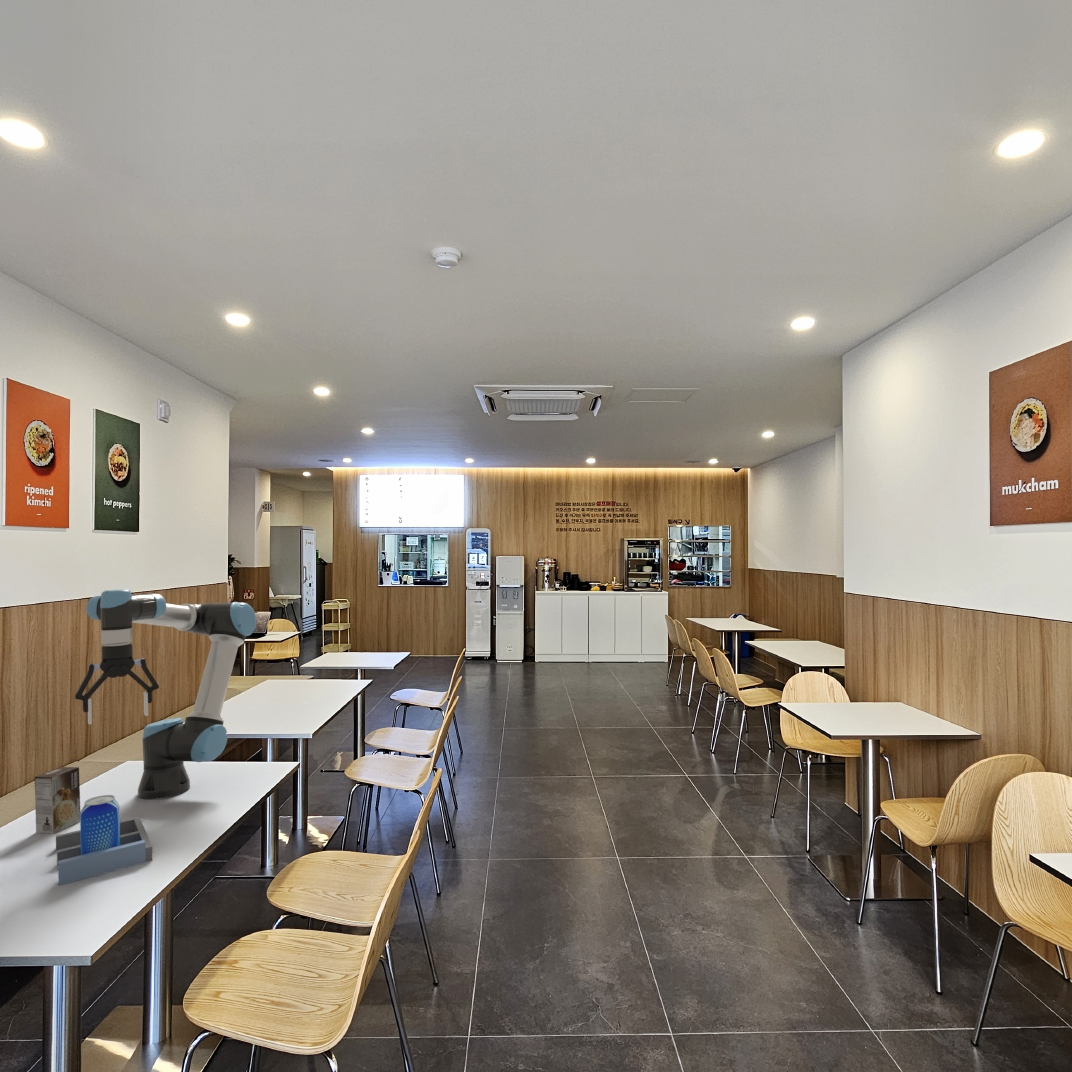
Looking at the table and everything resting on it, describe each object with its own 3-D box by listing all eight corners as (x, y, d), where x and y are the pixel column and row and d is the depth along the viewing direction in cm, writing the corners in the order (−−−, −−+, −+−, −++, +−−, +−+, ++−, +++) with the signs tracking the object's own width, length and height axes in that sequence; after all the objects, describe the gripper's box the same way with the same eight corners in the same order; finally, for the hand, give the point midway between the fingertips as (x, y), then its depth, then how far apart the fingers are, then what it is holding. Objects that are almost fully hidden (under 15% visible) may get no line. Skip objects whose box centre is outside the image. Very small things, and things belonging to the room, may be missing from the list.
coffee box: (63, 820, 202) (62, 766, 202) (81, 821, 200) (80, 766, 201) (34, 833, 193) (33, 776, 193) (53, 834, 191) (52, 777, 192)
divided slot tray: (139, 828, 193) (139, 811, 193) (152, 860, 172) (152, 840, 172) (55, 848, 181) (55, 829, 181) (58, 885, 160) (58, 863, 160)
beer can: (78, 873, 166) (77, 808, 166) (83, 860, 173) (82, 797, 174) (118, 865, 170) (117, 801, 170) (121, 852, 177) (120, 791, 178)
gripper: (164, 638, 203) (166, 709, 202) (63, 647, 188) (64, 724, 187) (168, 640, 197) (170, 713, 196) (64, 650, 182) (65, 729, 181)
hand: (118, 719), depth 192 cm, fingers open, 13 cm apart
